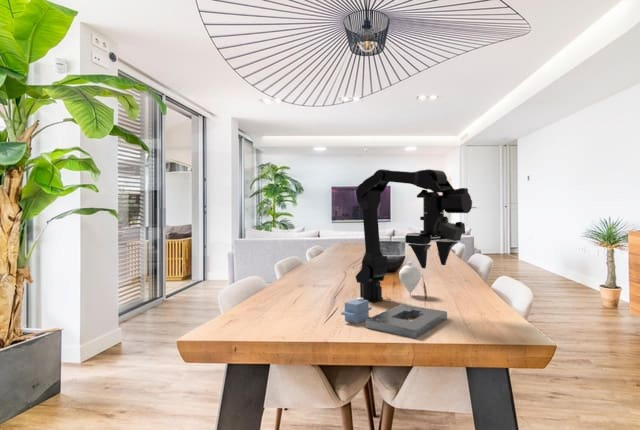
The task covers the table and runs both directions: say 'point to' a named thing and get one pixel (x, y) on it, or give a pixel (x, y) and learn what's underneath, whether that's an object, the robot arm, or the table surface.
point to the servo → (356, 310)
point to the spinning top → (409, 276)
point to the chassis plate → (396, 325)
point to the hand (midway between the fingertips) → (433, 266)
